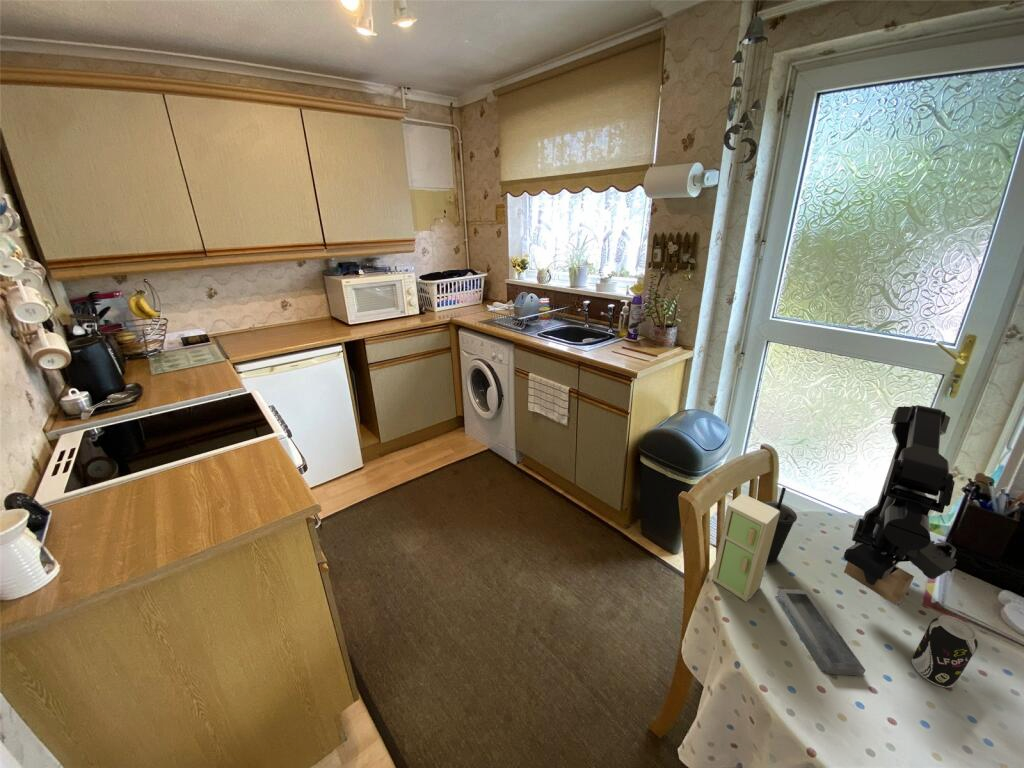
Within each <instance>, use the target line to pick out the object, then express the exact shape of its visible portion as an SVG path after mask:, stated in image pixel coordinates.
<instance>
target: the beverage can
mask: <svg viewBox="0 0 1024 768" xmlns="http://www.w3.org/2000/svg"><path fill="white" fill-rule="evenodd" d="M978 646H979V643H978V640H977V633H976V631H975V630H974V628H972V626H970V624H968V623H966V622H965V621H964V620H961V619H960V618H957V617H954V616H951V615H946V614H943V615H940V616H938V617H936V618H933V619H932V620H930V622H929V625H928V627H927V628H926V630H925V632H924V634H923V636H922V638H921V639H920V642H919V644H918V646H917V647H916V649H915V651H914V653H913V655H912V657H911V663H912V667H913V668H914V669H915V671H917V673H918V674H919V675H921V676H922V678H924V679H925V680H926V681H928V682H930V683H932V684H934V685H936V686H939V687H942V688H946V689H947V688H953V687H955V686H956V684H957V682H958V681H959V679H960V677H961V675H962V674H963V672H964V670H965V669H966V668H967V666H968V664H969V662H970V661H971V659H972V657H973V655H974V654H975V652H976V650H977V649H978Z"/></svg>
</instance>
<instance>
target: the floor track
mask: <svg viewBox="0 0 1024 768" xmlns="http://www.w3.org/2000/svg"><path fill="white" fill-rule="evenodd" d="M775 599H776V601H777V602H778V604H779V606H780V607H781V609H782V611H783V612H784V614H785V615H786V618H788V620H789V622H790V623H791V625H792V627H793V628H794V630H795V631H796V633H797V635H798V636H799V638H800V640H801V642H802V643H803V644H804V646H805V647H806V649H807V652H808V653H809V654H810V656H811V657H812V659H813V661H814V662H815V664H816V666H817V668H819V670H820V671H821V673H826V674H830V675H831V674H832V675H847V676H848V675H850V676H863V677H864V675H865V672H866V669H865V667H864V665H863V664H862V662H860V660H859V659H858V657H857V656H856V655H855V654H854V652H853V650H851V648H850V647H849V645H848V643H847V642H846V641H845V640H844V638H843V636H842V635H841V633H839V631H838V630H837V628H836V627H835V625H834V624H833V623H832V622H831V620H830V619H829V617H828V616H827V615H826V613H825V612H824V610H823V609H822V608H821V606H820V605H819V604H818V602H817V601H816V600H815V598H814V596H813V595H812V593H810V591H809V590H808V589H807V590H806V589H788V588H787V589H786V588H784V589H783V588H778V589H777V591H776V595H775Z"/></svg>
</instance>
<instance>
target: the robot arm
mask: <svg viewBox="0 0 1024 768" xmlns="http://www.w3.org/2000/svg"><path fill="white" fill-rule="evenodd" d="M891 416H892V417H891V419H890V425H893V426H892V429H891V434H892V435H893V439H894V441H895V443H896V447H895V449H894V452H893V456H892V458H891V461H890V464H889V467H888V470H887V473H886V476H885V480H884V483H883V485H882V488H881V492H880V495H879V499H878V501H877V504H876V505H874V506H872V507H871V508H870V509H868V510H866V511H864V514H863V516H862V518H860V517H859V518H858V519H857V521H856V522H855V525H854V527H853V530H852V531H853V532H852V538H851V541H852V542H854V544H852V546H850V547H848V548H846V549H845V551H844V553H843V558H844V560H845V561H847V562H850V563H851V564H853V565H855V566H856V567H858V568H860V569H861V570H863V572H864V575H865V579H866V582H867V583H869V584H870V585H874V584H875V583H876V582H877V581H878V579H880V580H882V579H883V578H885V577H886V576H888V575H889V574H891V573H893V572H894V571H896V570H897V569H898V568H896V567H895V566H897V565H898V564H899V563H902V562H903V563H905V562H910V563H911V564H913V566H915V567H917V569H918V570H920V571H921V572H922V574H923V575H924V577H925V576H926V578H928V579H930V580H935V579H937V578H938V577H940V576H942V575H944V574H945V573H947V572H949V571H950V570H951V569H953V568H954V567H955V566H956V565H957V563H956V562H957V561H958V560H957V558H955V556H956V555H955V554H956V551H957V548H956V547H955V546H954V545H953V544H951V543H950V542H949V541H947V542H946V541H944V542H935V540H932V539H931V529H930V521H929V520H930V519H929V513H930V511H934V512H937V513H940V514H943V513H944V510H945V507H949V506H950V505H951V502H952V501H951V500H952V496H953V493H954V488H955V482H956V481H955V480H954V475H953V473H951V472H950V469H949V468H950V467H949V466H950V465H949V461H948V459H947V458H945V457H944V456H943V455H942V454H940V442H941V436H943V435H945V434H946V433H947V430H948V426H949V424H950V421H951V417H950V416H949V415H947V413H946V411H943V410H942V409H939V408H934V407H930V406H929V407H928V406H924V405H919V404H916V405H911V406H907V405H904V406H897V407H896V408H895V410H894V412H893V413H892V415H891ZM949 472H950V473H949ZM928 495H930V496H934V497H938V499H935V498H932V497H929V496H928ZM893 564H894V565H895V566H894V565H893Z"/></svg>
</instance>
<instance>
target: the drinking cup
mask: <svg viewBox="0 0 1024 768" xmlns="http://www.w3.org/2000/svg"><path fill="white" fill-rule="evenodd" d="M786 490H787V488H786V487H784V486H783V487H782V488H781V491H780V495H779V498H778V501H773V500H763V501H761V502H762V503H764V504H767V505H769V506H771V507H773V508H775V509H777V510H779V511H780V515H779V518H778V522H777V526H776V530H775V533H774V537H773V541H772V544H771V548H770V552H769V555H768V559H767V563H766V564H769V565H770V564H771V565H772V564H775V563H776V562H777V560H778V558H779V556H780V553H781V551H782V549H783V548H784V545H785V542H786V541H787V538H788V536H789V534H790V531H791V529H792V527H793V525H794V523H796V522H797V520H798V519H797V518H798V515H797V513H796V512H795V510H793V509H792V508H791V507H790V506H788V505H786V504H785V503H784V504H783V501H784V497H785V494H786Z"/></svg>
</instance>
